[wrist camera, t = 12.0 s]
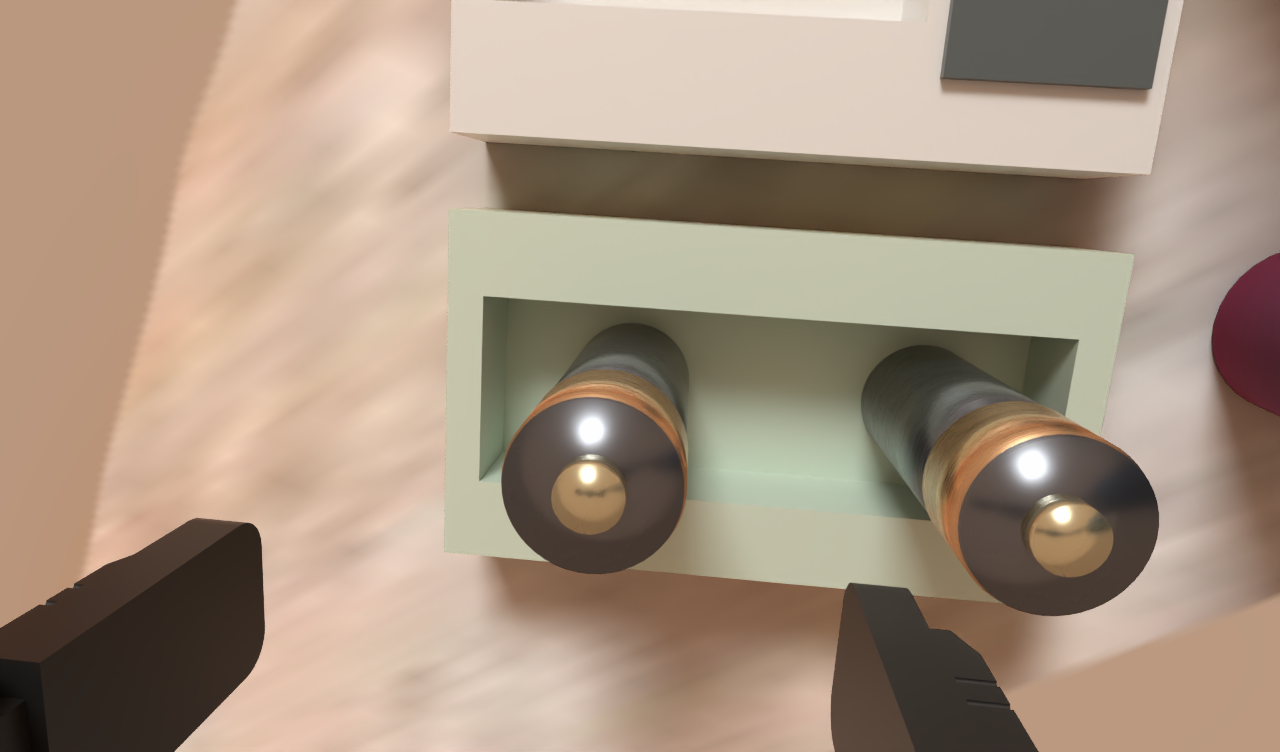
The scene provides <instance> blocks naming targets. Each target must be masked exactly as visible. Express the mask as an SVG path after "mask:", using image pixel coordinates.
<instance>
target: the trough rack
mask: <svg viewBox="0 0 1280 752" xmlns="http://www.w3.org/2000/svg"><path fill="white" fill-rule="evenodd" d="M1134 257H1135V254H1126V253H1118V252H1109V251H1101V250H1092V249H1084V248H1075V247H1063V246H1048V245H1032V244H1017V243H1002V242H987V241H972V240H957V239H942V238H927V237H912V236H897V235H882V234H867V233H852V232H837V231H822V230H807V229H792V228H777V227H762V226H747V225H732V224H717V223H702V222H687V221H672V220H657V219H642V218H627V217H612V216H597V215H582V214H567V213H552V212H537V211H522V210H507V209H492V208H456V209H449V225H448V300H447V376H446V451H445V527H444V552H448V553H459V554H470V555H480V556H491V557H502V558H513V559H524V560H535V561H546V562H549V561H547V560H545V559H544V558H542V557H541V556H539V555H538V554H537V553H535V552H534V551H533V550H532V549H531V548H530V547H529V546H528V545H527V544H526V543H525V542H524V541H523V540H522V539H521V537H520V536H519V535H518V533H517V532H516V530H515V529H514V527H513V526H512V524H511V522H510V520H509V517H508V515H507V512H506V509H505V506H504V502H503V497H502V487H501V474H502V465H503V461H504V457H505V453H506V451H507V448H508V446H509V444H510V442H511V440H512V438H513V436H514V434H515V433H516V432H517V430H518V429H519V428H520V426H521V425H522V424H523V423H524V421H525V420H526V419H527V417H528V416H529V415H530V414H531V412H532V411H533V410H534V409H535V407H536V406H537V405H538V403H539V402H540V401H541V400H542V398H543V397H544V396H545V395H546V394H547V393H548V392H549V391H550V390H551V389H552V388H553V387H555V385H556V384H557V383H558V381H559V380H560V379H561V377H562V376H563V375H564V374H565V372H566V371H567V370H568V368H569V367H570V366H571V364H572V363H573V362H574V361H575V359H576V358H577V357H578V355H579V354H580V353H581V352H582V350H583V349H584V348H585V346H586V345H587V344H588V342H589V341H590V340H591V339H592V338H593V337H594V336H596V335H597V334H598V333H600V332H601V331H603V330H605V329H607V328H609V327H611V326H614V325H618V324H624V323H639V324H645V325H648V326H651V327H654V328H656V329H658V330H660V331H662V332H664V333H665V334H666V335H668V336H669V337H670V338H671V339H672V340H673V341H674V342H675V343H676V344H677V346H678V347H679V348H680V350H681V352H682V353H683V355H684V358H685V360H686V363H687V366H688V372H689V396H688V419H687V440H688V472H687V494H686V501H685V506H684V510H683V513H682V516H681V518H680V521H679V523H678V525H677V527H676V528H675V530H674V532H673V533H672V535H671V536H670V537H669V539H668V540H667V541H666V542H665V543H664V545H663V546H662V547H661V548H660V549H659V550H657V551H656V552H655V553H654V554H653V555H652V556H650V557H649V558H647V559H646V560H644V561H643V562H641V563H639V564H637V565H635V566H633V567H630V568H628V569H632V570H643V571H654V572H665V573H676V574H687V575H697V576H708V577H719V578H730V579H741V580H752V581H762V582H773V583H784V584H795V585H806V586H817V587H828V588H838V589H846V588H847V586H848V584H849V583H860V584H871V585H881V586H891V587H901V588H908V589H909V590H910V592H911V594H912V595H914V596H925V597H936V598H947V599H958V600H969V601H979V602H990V603H1001V604H1004V603H1002V602H1000V601H998V600H997V599H995V598H993V597H992V596H990V595H989V594H988V593H986V592H985V591H984V590H983V589H982V588H981V587H980V586H979V585H978V584H977V583H976V582H975V581H974V580H973V579H972V577H971V576H970V574H969V573H968V572H967V570H966V569H965V568H964V566H963V565H962V563H961V562H960V561H959V559H958V558H957V557H956V555H955V554H954V552H953V551H952V550H951V548H950V547H949V545H948V544H947V543H946V541H945V540H944V539H943V537H942V536H941V534H940V533H939V532H938V530H937V529H936V528H935V526H934V525H933V523H932V521H931V519H930V517H929V516H928V513H927V511H926V510H925V509H924V507H923V506H922V505H921V503H920V502H919V500H918V499H917V498H916V496H915V495H914V494H913V492H912V491H911V489H910V488H909V487H908V485H907V484H906V483H905V481H904V480H903V479H902V477H901V476H900V474H899V473H898V472H897V470H896V469H895V468H894V466H893V465H892V464H891V462H890V461H889V459H888V458H887V457H886V455H885V454H884V453H883V451H882V450H881V448H880V447H879V446H878V444H877V443H876V442H875V440H874V439H873V438H872V436H871V435H870V433H869V432H868V430H867V428H866V426H865V424H864V421H863V418H862V413H861V396H862V391H863V388H864V385H865V382H866V380H867V378H868V376H869V375H870V373H871V372H872V370H873V369H874V368H875V367H876V365H877V364H878V363H879V362H881V361H882V360H883V359H884V358H886V357H887V356H888V355H890V354H892V353H894V352H895V351H897V350H900V349H903V348H906V347H910V346H916V345H931V346H937V347H940V348H944V349H946V350H949V351H951V352H952V353H954V354H956V355H957V356H959V357H961V358H963V359H964V360H966V361H968V362H969V363H971V364H973V365H974V366H976V367H978V368H979V369H981V370H983V371H984V372H986V373H988V374H990V375H991V376H993V377H995V378H996V379H998V380H1000V381H1001V382H1003V383H1005V384H1006V385H1008V386H1010V387H1011V388H1013V389H1015V390H1017V391H1018V392H1020V393H1022V394H1023V395H1025V396H1027V397H1028V398H1030V399H1032V400H1033V401H1035V402H1037V403H1038V404H1040V405H1043V406H1046V407H1048V408H1050V409H1053V410H1055V411H1057V412H1058V413H1060V414H1062V415H1063V416H1065V417H1067V418H1069V419H1070V420H1072V421H1074V422H1075V423H1077V424H1079V425H1081V426H1082V427H1084V428H1086V429H1087V430H1089V431H1091V432H1092V433H1094V434H1096V435H1098V436H1099V437H1100V434H1101V429H1102V424H1103V419H1104V413H1105V408H1106V403H1107V398H1108V393H1109V387H1110V382H1111V377H1112V372H1113V367H1114V361H1115V356H1116V351H1117V346H1118V340H1119V335H1120V330H1121V325H1122V320H1123V314H1124V309H1125V304H1126V299H1127V294H1128V288H1129V283H1130V278H1131V273H1132V268H1133V262H1134Z"/></svg>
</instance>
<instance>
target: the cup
mask: <svg viewBox="0 0 1280 752" xmlns="http://www.w3.org/2000/svg"><path fill="white" fill-rule="evenodd" d="M1212 342H1213V354H1214V357H1215V361H1216V364H1217V367H1218V370H1219V371H1220V373H1221V375H1222V377H1223V378H1224V380H1225V382H1226V383H1227V384H1228V385H1229V386H1230V387H1231V388H1232V389H1233V390H1234V391H1235V393H1237V394H1238V395H1240V396H1241V397H1243V398H1244V399H1245V400H1247V401H1248V402H1251V403H1253V404H1255V405H1257V406H1259V407H1261V408H1263V409H1266V410H1268V411H1270V412H1272V413H1274V414H1276V415H1278V416H1280V253H1278V254H1275V255H1272V256H1270V257H1268V258H1267V259H1265V260H1263V261H1261V262H1260V263H1258V264H1256V265H1255V266H1253V267H1252V268H1251V269H1250V270H1249V271H1247V272H1246V273H1245V274H1244V275H1243V276H1241V277H1240V278H1239V279H1238V281H1237V282H1236V283H1235V284H1234V285H1233V287H1232V288H1231V289H1230V290H1229V291H1228V293H1227V295H1226V297H1225V298H1224V300H1223V302H1222V304H1221V305H1220V307H1219V310H1218V313H1217V316H1216V319H1215V322H1214V329H1213V336H1212Z"/></svg>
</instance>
